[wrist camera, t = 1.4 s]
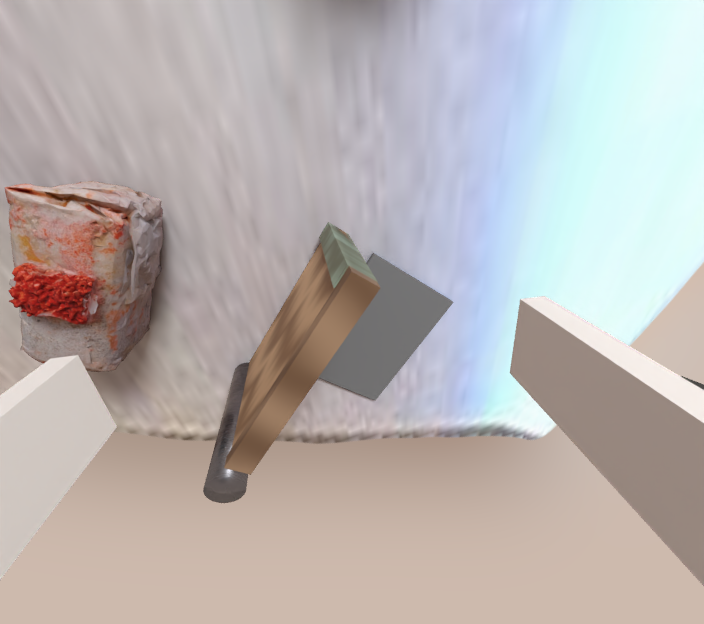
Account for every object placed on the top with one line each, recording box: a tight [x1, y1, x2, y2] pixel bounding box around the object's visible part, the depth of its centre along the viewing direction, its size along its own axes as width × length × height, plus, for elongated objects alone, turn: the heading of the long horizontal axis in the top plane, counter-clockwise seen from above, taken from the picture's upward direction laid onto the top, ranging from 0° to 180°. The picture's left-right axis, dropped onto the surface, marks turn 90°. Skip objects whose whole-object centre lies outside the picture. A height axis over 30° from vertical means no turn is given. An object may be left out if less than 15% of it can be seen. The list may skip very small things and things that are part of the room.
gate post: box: [204, 363, 249, 503], centre depth 30 cm, size 3×3×14 cm
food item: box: [5, 181, 163, 372], centre depth 24 cm, size 14×8×10 cm, turn 163°
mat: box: [318, 253, 453, 400], centre depth 36 cm, size 11×16×1 cm
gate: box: [224, 222, 380, 475], centre depth 26 cm, size 17×2×13 cm, turn 147°
